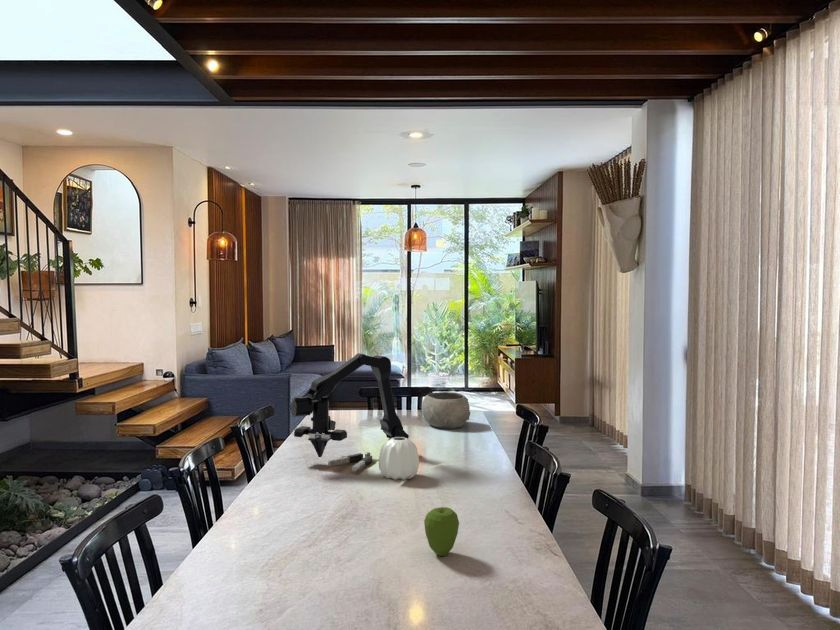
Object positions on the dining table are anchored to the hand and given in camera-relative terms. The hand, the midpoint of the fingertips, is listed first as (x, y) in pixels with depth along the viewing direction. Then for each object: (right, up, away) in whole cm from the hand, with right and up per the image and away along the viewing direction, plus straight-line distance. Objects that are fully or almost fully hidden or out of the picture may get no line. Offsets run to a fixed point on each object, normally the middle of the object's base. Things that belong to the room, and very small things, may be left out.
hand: (320, 456), depth 216 cm
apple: (+41, -7, -72) cm, 83 cm away
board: (+11, -4, 0) cm, 11 cm away
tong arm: (+9, -3, +2) cm, 10 cm away
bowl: (+48, -2, +71) cm, 86 cm away
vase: (+29, -5, -11) cm, 31 cm away
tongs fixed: (+15, -3, 0) cm, 16 cm away
